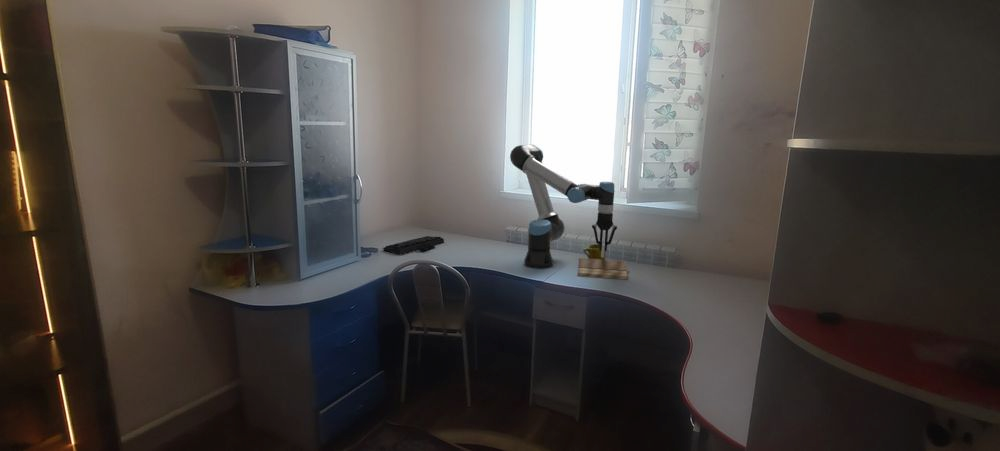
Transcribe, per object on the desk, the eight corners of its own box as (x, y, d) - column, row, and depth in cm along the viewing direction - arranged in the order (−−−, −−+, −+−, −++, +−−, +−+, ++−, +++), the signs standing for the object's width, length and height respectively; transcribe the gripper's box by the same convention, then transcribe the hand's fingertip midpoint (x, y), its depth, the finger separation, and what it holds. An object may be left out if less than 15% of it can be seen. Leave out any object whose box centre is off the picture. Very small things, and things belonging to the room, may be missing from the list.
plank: (578, 269, 246) (578, 266, 245) (578, 260, 252) (578, 257, 251) (626, 272, 242) (626, 270, 241) (625, 263, 248) (625, 261, 247)
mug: (606, 254, 270) (604, 239, 265) (608, 264, 261) (605, 249, 256) (584, 256, 272) (582, 242, 267) (585, 267, 263) (583, 252, 258)
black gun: (425, 239, 304) (425, 232, 303) (452, 245, 292) (452, 237, 291) (381, 251, 275) (381, 243, 274) (408, 258, 263) (408, 250, 262)
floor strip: (577, 275, 237) (577, 272, 237) (578, 270, 246) (578, 267, 245) (627, 279, 233) (627, 276, 232) (626, 273, 242) (626, 270, 241)
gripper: (592, 212, 241) (589, 257, 246) (618, 214, 239) (615, 259, 244) (592, 210, 248) (589, 254, 253) (618, 211, 246) (615, 255, 251)
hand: (602, 256), depth 248 cm, fingers closed
